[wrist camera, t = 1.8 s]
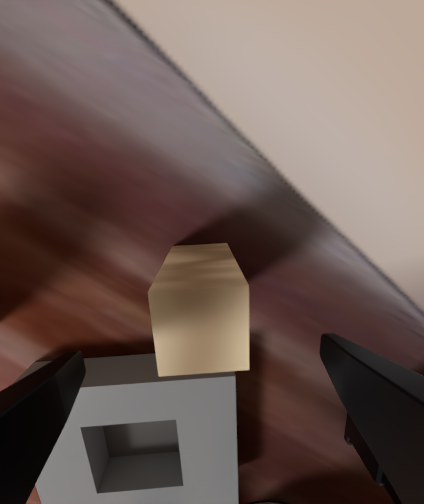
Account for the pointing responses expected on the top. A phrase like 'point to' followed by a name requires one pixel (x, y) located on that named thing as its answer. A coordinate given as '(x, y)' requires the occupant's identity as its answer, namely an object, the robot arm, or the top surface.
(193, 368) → the maple block
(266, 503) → the apothecary jar
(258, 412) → the top surface
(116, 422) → the pocket plate
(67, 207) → the top surface
